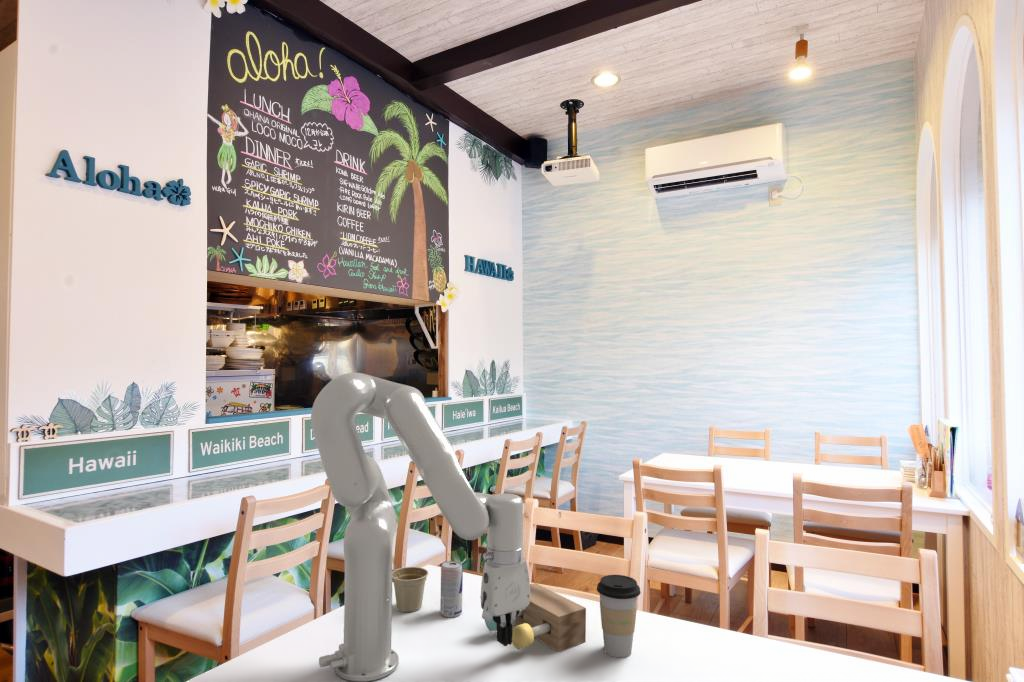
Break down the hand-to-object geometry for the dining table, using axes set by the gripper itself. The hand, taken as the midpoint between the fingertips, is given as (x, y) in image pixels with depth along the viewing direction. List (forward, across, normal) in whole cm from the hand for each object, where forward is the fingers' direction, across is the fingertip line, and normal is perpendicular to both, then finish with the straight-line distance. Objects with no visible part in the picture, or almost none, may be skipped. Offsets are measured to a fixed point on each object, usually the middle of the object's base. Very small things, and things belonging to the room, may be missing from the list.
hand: (504, 642), depth 126 cm
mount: (+4, +16, +5) cm, 17 cm away
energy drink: (+4, +2, +26) cm, 26 cm away
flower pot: (+4, -5, +35) cm, 36 cm away
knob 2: (+2, +9, 0) cm, 9 cm away
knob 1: (+2, +9, +10) cm, 14 cm away
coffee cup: (+4, +23, -11) cm, 25 cm away
